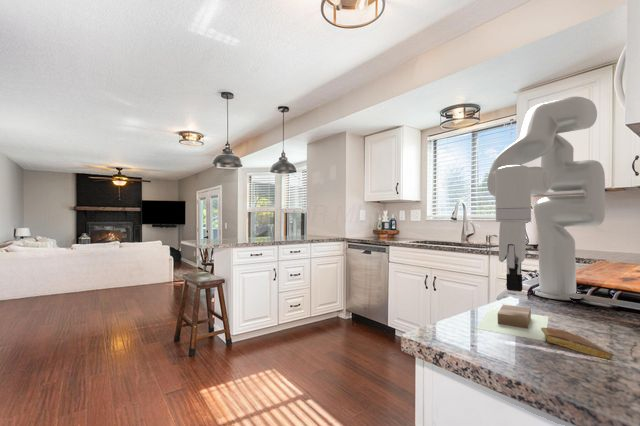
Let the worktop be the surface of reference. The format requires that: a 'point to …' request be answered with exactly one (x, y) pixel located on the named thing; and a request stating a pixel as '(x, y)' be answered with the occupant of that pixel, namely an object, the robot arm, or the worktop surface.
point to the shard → (574, 342)
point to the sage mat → (532, 332)
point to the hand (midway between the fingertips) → (514, 290)
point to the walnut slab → (514, 316)
